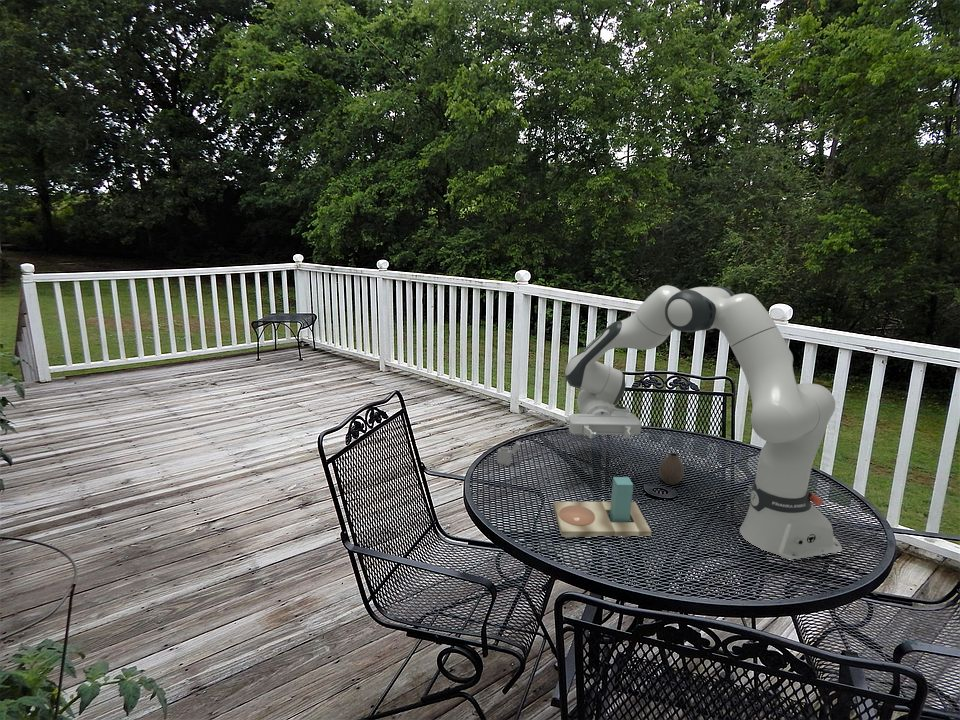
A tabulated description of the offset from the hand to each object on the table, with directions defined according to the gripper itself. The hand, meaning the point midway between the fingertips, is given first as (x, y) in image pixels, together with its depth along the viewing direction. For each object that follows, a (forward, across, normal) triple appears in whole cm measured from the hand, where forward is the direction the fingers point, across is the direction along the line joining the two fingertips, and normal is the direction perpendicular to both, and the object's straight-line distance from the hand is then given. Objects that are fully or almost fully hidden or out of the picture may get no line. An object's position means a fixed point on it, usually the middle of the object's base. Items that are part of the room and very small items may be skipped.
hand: (610, 436), depth 155 cm
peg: (+14, 0, +18) cm, 23 cm away
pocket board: (+14, -5, +18) cm, 23 cm away
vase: (-8, +21, +18) cm, 29 cm away
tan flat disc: (+14, -11, +16) cm, 24 cm away
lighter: (-18, -26, +18) cm, 37 cm away
